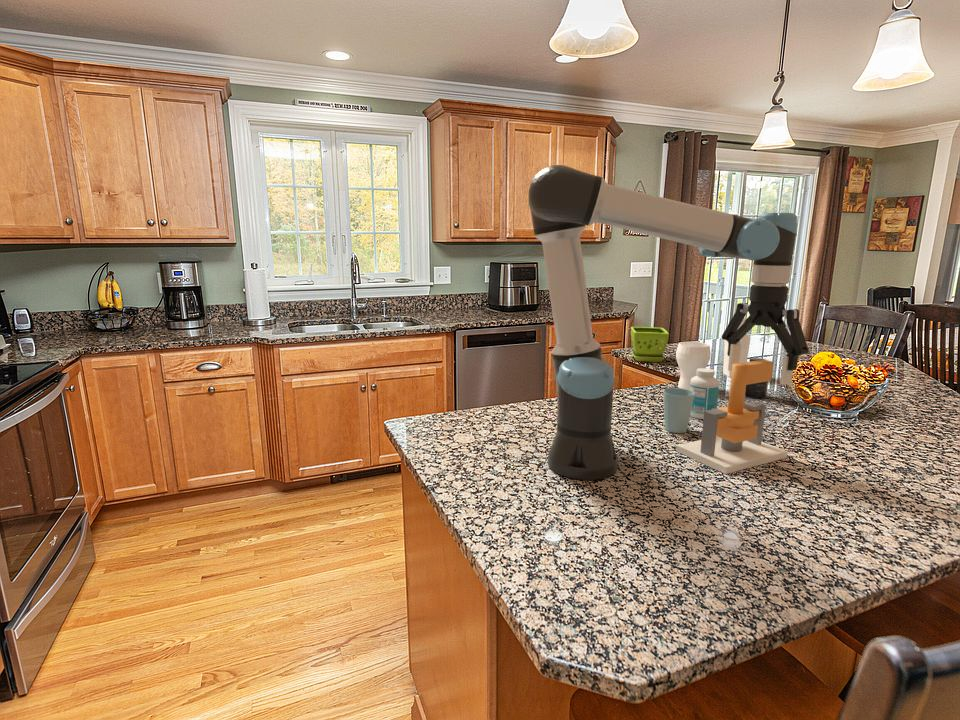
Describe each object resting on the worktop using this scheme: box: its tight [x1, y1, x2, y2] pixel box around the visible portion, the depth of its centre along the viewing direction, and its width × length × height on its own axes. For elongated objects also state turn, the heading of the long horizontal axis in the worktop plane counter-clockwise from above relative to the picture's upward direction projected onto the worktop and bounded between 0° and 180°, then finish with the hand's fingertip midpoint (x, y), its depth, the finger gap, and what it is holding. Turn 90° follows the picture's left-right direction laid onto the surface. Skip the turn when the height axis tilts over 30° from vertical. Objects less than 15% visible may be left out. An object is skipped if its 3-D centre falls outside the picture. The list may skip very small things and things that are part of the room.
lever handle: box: [716, 359, 774, 443], centre depth 122 cm, size 8×16×17 cm, turn 116°
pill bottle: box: [690, 367, 720, 420], centre depth 150 cm, size 8×7×14 cm
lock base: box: [675, 401, 789, 475], centre depth 123 cm, size 20×14×11 cm
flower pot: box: [630, 326, 670, 363], centre depth 221 cm, size 14×14×13 cm
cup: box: [662, 387, 695, 434], centre depth 139 cm, size 8×8×10 cm
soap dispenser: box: [722, 317, 752, 378], centre depth 193 cm, size 6×6×22 cm
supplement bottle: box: [745, 357, 769, 399], centre depth 169 cm, size 7×7×12 cm
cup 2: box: [675, 341, 712, 390], centre depth 178 cm, size 11×11×15 cm
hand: (757, 376), depth 123 cm, fingers open, 13 cm apart
